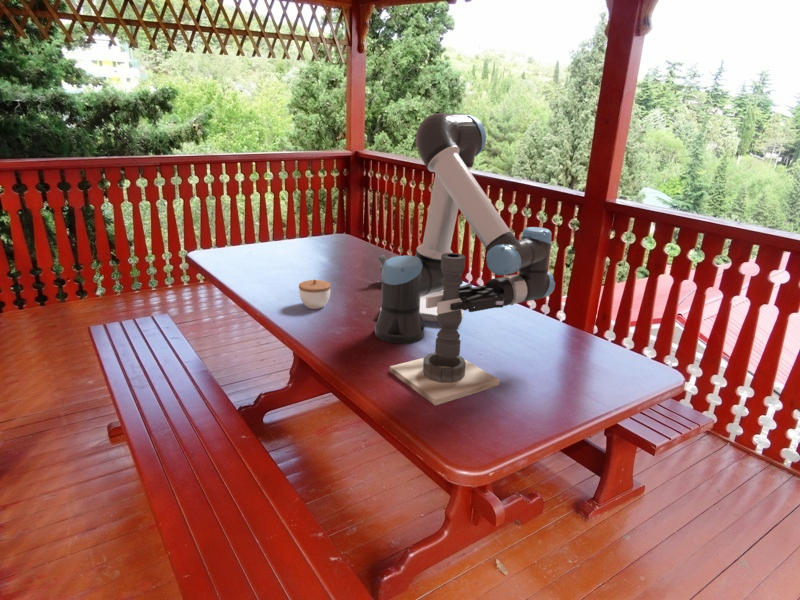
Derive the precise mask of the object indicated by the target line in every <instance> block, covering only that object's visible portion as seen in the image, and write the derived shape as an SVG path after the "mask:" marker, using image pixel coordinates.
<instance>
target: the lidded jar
mask: <svg viewBox="0 0 800 600" xmlns="http://www.w3.org/2000/svg"><path fill="white" fill-rule="evenodd" d="M331 287H332V285H331V283H330V282H328V281H327V280H321V279H310V280H309V279H308V280H303V281H301V282H300V283H299V284H298V288H299V289H298V290H299V291H298V293H299V297H300V300H301V302H302V303H303V304H304V306H306V308H308V309H311V310H318V309H323V308H324V307H325V305H326V304H327V303H328V302H329V299H330V297H331Z"/></svg>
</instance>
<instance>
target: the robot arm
mask: <svg viewBox="0 0 800 600" xmlns="http://www.w3.org/2000/svg"><path fill="white" fill-rule="evenodd" d="M486 133H487V132H486V129H485V127H484V126H483V123H482V122H481V121H480V119H479V118H477V117H476V116H475V115H473V114H472V115H470V114H467V113H462V112H461V113H443V112H438V113H437V112H436V113H432V114H431V115H429V116H427V117H425V118H424V119H423V120H422V121H421V122H420V123H419V126H418V128H417V130H416V134H415V135H416V136H415V143H416V144H415V145H416V149H417V152H418V154H419V156H420V159H421V161H422V162H423V163H424V165H425V167H426V168H427V170H428V171H429V172H431V173H435V176H434V180H433V184H432V185H433V186H432V191H431V197H430V201H429V202H430V204H429V208H428V214H427V218H426V223H425V229H424V235H423V239H422V240H423V241H422V243H421V244H420V245H418V246H417V247H416V249H415V250H416V251H415V256H414V255H407V254H406V255H404V254H403V255H397V256H392V257H390V258H388V259H386V260H387V261H385V263H384V264H383V268H382V275H380V277H381V289H380V290H381V291H380V292H381V296H380V297H381V298H380V300H381V301H380V303H381V304H380V306H381V307H380V308H381V311H380V310H379V315H378V317H377V319H376V320H377V321H376V323H375V325H374V335H375V337H376V338H377V339H378V340H381V341H383V342H387V343H392V344H411V343H416V342H418V341H420V340H422V339H423V338H424V337H425V325H424V320H422V317H421V314H420V297H422V296H425V295H428V294H431V293H434V292H439V291H443V288H444V286H443V284H442V283H441V279H442V278H444V276H443V273H442V269H441V255H442V254H445V253H454V252H453V251H452V249H451V247H452V246H451V245H452V242H453V235H454V233H455V226H456V222H457V218H458V213H459V210H460V212H461V213H462V215H463V217H464V218H465V220H466V222H467V223H468V224H469V226H470V228H471V229H472V230H473V232H474V233H475V235H476V237H477V238H478V240H479V241H480V243H481V244H482V245H483V247H484V248H485V250H486V251H487V253H486V259H485V260H486V265H487V268H488V270H489V271H490V272H492V273H493V274H495V275H497V276H501V277H497V278H496V277H495V278H491V279H489V280H488V282H487V283H486V284H485V285H478V286H475V287H473V284H472V283H467V284H465V285H460V287H459V298H457V299H452V300H447V301H442V299H443V294H440V295H434V296H429V297H426V308H432V307H437V313H438V314H442V313H447V312H451V311H456V310H460V309H462V310H465V311H467V310H468V312H470V313H474V312H478V311H479V312H480V311H485V310H491V309H496V308H500V309H501V308H504V307H506V306H514V304H520V303H524V302H528V301H534V300H536V301H537V300H540V299H543V298H546V297H549V296H550V295H551V294H553V292H554V290H555V288H556V287H555V286H556V282H555V280H554V276H553V274H552V273H551V272H550V271H549V263H550V256H551V248H552V231H551V230H550V229H548V228H545V227H539V226H538V227H537V226H529V227H525V228H523V230H522V234H521V238H520V239H517V238H516V237H515V235H514V234H513V232H511V229H510V228H509V227H508V225H507V224H506V222H505V221H504V220H503V218H502V216H501V214H499V212H498V211H497V209H496V208H495V206H494V205H493V203H492V202H491V200H490V199H489V197H488V196H487V194H486V193H485V191H484V190H483V188H482V187H481V185H480V184H479V182H478V181H477V180H476V177H474V175H473V174H472V172H471V171H470V170H472V168H473V167H474V162H475V157H478V155H479V154H480V153H482V151H483V150H484V148H485V146H486V143H487V134H486ZM517 272H518V274H516V273H517Z"/></svg>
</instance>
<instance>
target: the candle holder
mask: <svg viewBox="0 0 800 600" xmlns="http://www.w3.org/2000/svg"><path fill="white" fill-rule="evenodd" d="M465 267H466V255H465V254H463V253H459V252H458V253H457V252H455V253H454V252H453V253H445V254H442V255H441V269H442V273H443V276H444V278H442V279H441V283H442V284H443V286H444V288H443V290H442V291H443V299H442V301H447V300H452V299H457V298H459V287H460V286H462V285H463V281H464V280H463V279H462V278H461V277H462V275H463V273H464V271H465ZM437 320H438V322H437V323H438V325H439V328H440V329H439V331H437V333H436V338H435V348H434V349H435V350H434V353H436V354H437V355H438V356H441V357H445V358H454V357H457V356H458V355H459V356H460V353H461V341H462V340H461V339H460V337H461V334H460V333H459V331H458V329H459V326H460V325H461V323H462V321H463V319H462V313H461V309H460V310H456V311H451V312H447V313H442V314H438V316H437Z"/></svg>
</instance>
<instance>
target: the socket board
mask: <svg viewBox="0 0 800 600" xmlns="http://www.w3.org/2000/svg"><path fill="white" fill-rule="evenodd" d="M389 373H391V374H392V375H394V376H395V378H398V379H399V380H400V381H401V382H403V383H404V384H406V385H408V386H409V388H411V389H412V390H414V391H415V392H416V393H418V394H419V395H420V396H422V398H425V400H426V401H428V402H430V403H431V404H432V405H434V406H435V407H436V406H439V405H441V404H445V403H448V402H451V401H455V400H458V399H461V398H464V397H467V396H470V395H474V394H476V393H480V392H482V391H486V390H489V389H493V388H496V387H499V386H500V379H498V378H497V377H495V376H493V375H492V374H490V373H489V372H487V371H485V370H483V369H481V368H480V367H478V366H476V365H475V364H473V363H471V362H470V361H468V360H467V359H465V358H464V357H462V356H460V354H459V355H458V356H457V357H454V358H445V357H441V356H438V355H437V354H436V353H435V352H432V353H431V352H430V353H428V354H426V356H424V357H422V358H421V357H420V358H418V359H414V360H409V361H406V362H403V363H402V362H401V363H398V364H394V365H390V366H389Z"/></svg>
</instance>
